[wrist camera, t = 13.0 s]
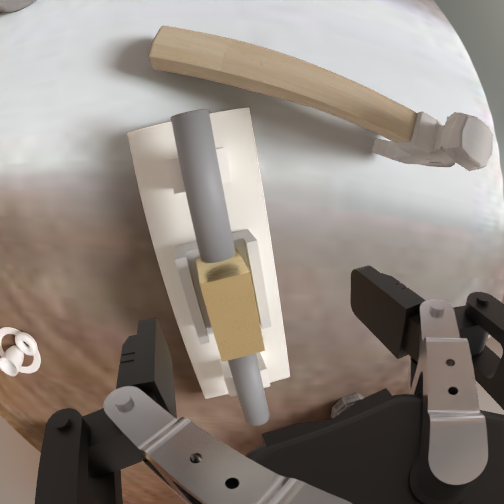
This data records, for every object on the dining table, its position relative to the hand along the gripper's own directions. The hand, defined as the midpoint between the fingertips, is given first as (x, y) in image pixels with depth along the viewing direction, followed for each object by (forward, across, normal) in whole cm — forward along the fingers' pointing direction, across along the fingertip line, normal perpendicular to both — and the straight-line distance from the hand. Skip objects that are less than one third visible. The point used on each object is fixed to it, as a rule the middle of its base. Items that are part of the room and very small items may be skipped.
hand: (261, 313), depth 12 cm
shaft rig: (+22, 0, +8) cm, 23 cm away
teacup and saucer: (+22, +28, +15) cm, 39 cm away
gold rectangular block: (+18, 0, +8) cm, 19 cm away
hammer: (+22, -11, -10) cm, 27 cm away
